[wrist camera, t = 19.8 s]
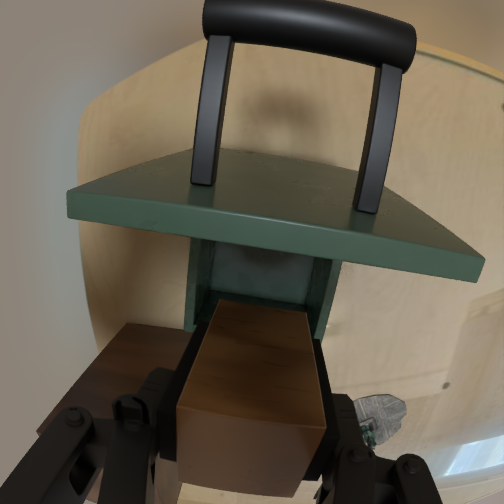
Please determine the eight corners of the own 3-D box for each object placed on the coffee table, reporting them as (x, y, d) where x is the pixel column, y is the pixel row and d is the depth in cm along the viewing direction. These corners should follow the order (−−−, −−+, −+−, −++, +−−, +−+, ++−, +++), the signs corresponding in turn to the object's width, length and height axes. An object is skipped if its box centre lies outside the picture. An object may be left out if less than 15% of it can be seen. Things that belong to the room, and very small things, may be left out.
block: (212, 368, 17) (176, 481, 9) (219, 298, 16) (175, 406, 8) (289, 380, 17) (292, 498, 9) (306, 312, 16) (327, 427, 8)
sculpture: (366, 455, 41) (347, 477, 35) (332, 418, 46) (309, 435, 40) (421, 411, 37) (411, 432, 31) (383, 371, 42) (367, 385, 36)
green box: (309, 308, 34) (319, 352, 26) (204, 292, 34) (183, 331, 26) (336, 174, 30) (359, 177, 22) (220, 155, 31) (200, 151, 22)
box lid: (477, 284, 7) (522, 47, 5) (66, 219, 8) (95, -30, 5) (359, 182, 21) (376, 88, 19) (199, 156, 22) (211, 61, 19)
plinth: (126, 322, 36) (35, 430, 17) (204, 331, 36) (149, 469, 16) (137, 385, 39) (74, 495, 20) (207, 396, 38) (170, 524, 19)
